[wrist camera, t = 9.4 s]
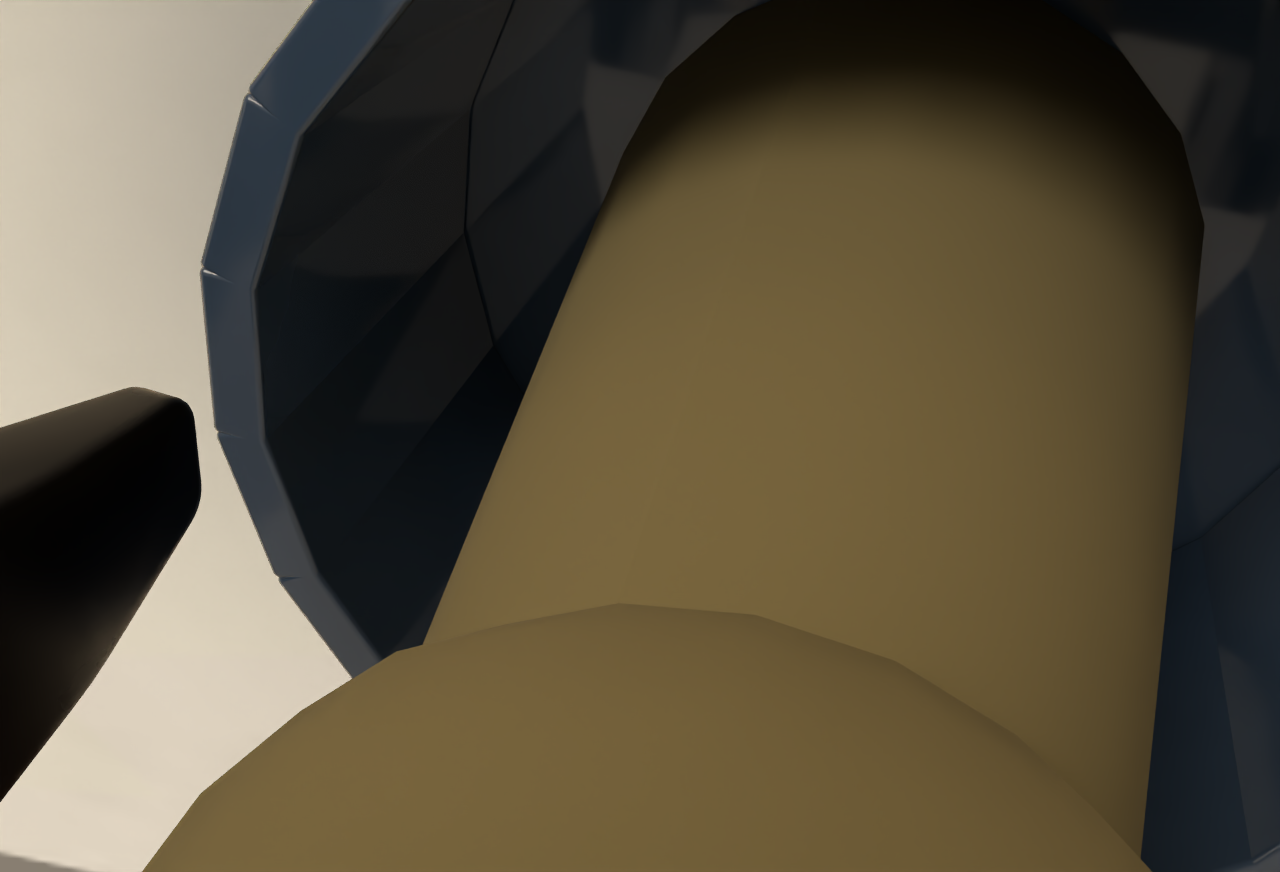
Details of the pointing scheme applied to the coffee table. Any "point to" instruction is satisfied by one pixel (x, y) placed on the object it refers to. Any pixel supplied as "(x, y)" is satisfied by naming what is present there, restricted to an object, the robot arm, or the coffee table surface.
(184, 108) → the coffee table surface
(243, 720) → the coffee table surface
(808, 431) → the brown cylinder with knob
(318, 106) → the blue-grey round bowl
